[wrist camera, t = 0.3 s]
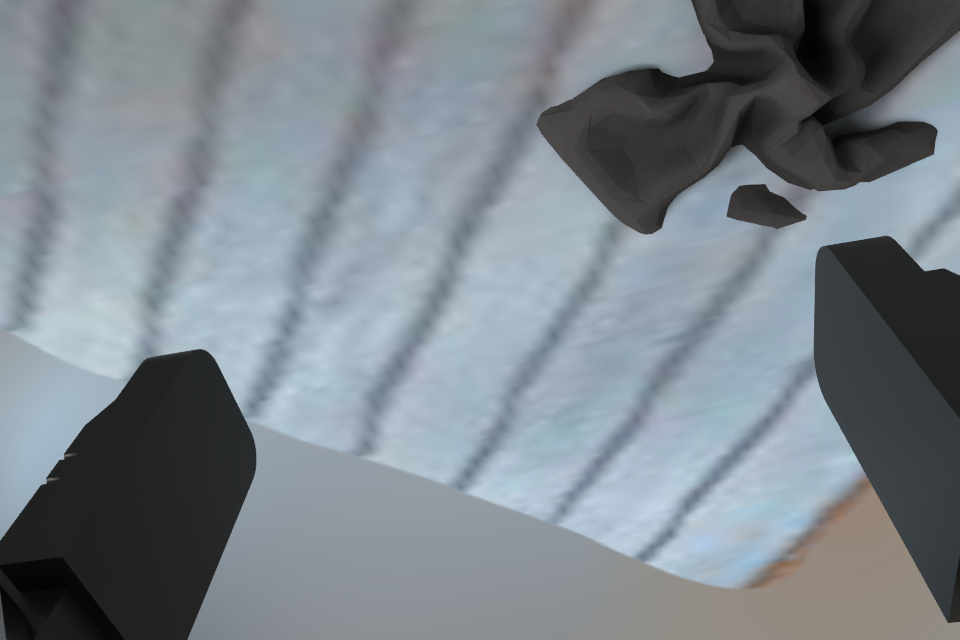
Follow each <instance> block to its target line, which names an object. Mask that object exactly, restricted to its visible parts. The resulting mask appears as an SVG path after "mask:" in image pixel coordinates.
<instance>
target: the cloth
mask: <svg viewBox="0 0 960 640" xmlns="http://www.w3.org/2000/svg"><path fill="white" fill-rule="evenodd" d="M691 1H692V3H693V6H694V9H695V12H696V15H697V19H698V21H699V24H700V26H701V29H702V31H703V34H704V35H705V37H706V40H707V43H708V45H709V46H710V48H711V49H712V54H713V59H714V62H713V64H712V65H711V67H710V68H709V69H708V70H707V71H704V72H700V73H696V74H692V75H688V76H684V77H680V78H678V77H674V76H670V75H668V74H665V73H663V72H661V71H660V70H659V69H646V70H638V71H629V72H626V73H623V74H620V75H617V76H614V77H611V78H605V79H602V80H600V81H599V82H597V83H596V84H594V85H593V86H591V87H590V88H588V89H587V90H586V91H584V92H583V93H581V94H580V95H578V96H577V97H575V98H574V99H572V100H568V101H566V102H564V103H562V104H560V105H558V106H554V107H551V108H549V109H547V110H546V111H544V112H543V113H542V114H541V116H540V117H539V120H538V122H537V124H536V125H537V127H538V128H539V130H540V131H541V134H542V135H543V136H544V137H545V139H546V140H547V141H548V142H549V144H550V145H551V146H552V147H553V148H554V150H555V151H556V152H557V153H558V155H559V156H560V157H561V158H562V159H563V160H564V162H565V163H566V164H567V165H568V166H569V167H570V168H571V169H572V170H573V172H574V173H575V174H576V175H577V176H578V177H579V178H580V179H581V180H582V182H583V183H584V184H585V185H586V186H587V187H588V188H589V189H590V190H591V191H592V192H593V194H594V195H595V196H596V197H597V198H598V199H599V200H600V201H601V202H602V203H603V204H604V205H605V207H606V208H607V209H608V210H609V211H610V212H611V213H612V214H613V215H614V216H615V217H616V218H617V219H619V220H620V221H621V222H622V223H624V224H625V225H627V226H629V227H631V228H632V229H634V230H636V231H638V232H639V233H642V234H653V233H654V232H656V231H658V230H659V229H661V228H662V225H663V221H664V218H665V214H666V211H667V208H668V206H669V205H670V203H671V202H672V201H673V200H674V198H675V197H676V196H677V195H678V194H679V193H680V192H682V191H683V190H685V189H686V188H688V187H689V186H691V185H693V184H694V183H696V182H697V181H699V180H700V179H702V178H704V177H705V176H706V175H707V174H708V173H710V172H711V171H712V170H713V169H714V168H716V167H717V166H718V165H719V163H720V162H721V160H722V159H723V157H724V156H725V154H726V153H727V151H728V150H729V148H730V147H733V146H737V145H741V144H743V145H744V146H745V147H746V148H747V149H749V150H750V151H751V152H752V153H753V154H754V155H756V156H757V158H758V159H759V160H760V161H761V162H762V163H763V164H764V165H765V166H766V168H768V169H769V170H771V171H772V172H773V173H775V174H776V175H778V176H779V177H780V178H782V179H783V180H785V181H786V182H788V183H791V184H794V185H797V186H800V187H803V188H806V189H809V190H811V189H815V190H817V191H827V190H842V189H847V188H849V187H852V186H854V185H856V184H857V183H859V182H871V181H873V180H876V179H878V178H880V177H883V176H885V175H887V174H890V173H892V172H894V171H896V170H899V169H901V168H903V167H906V166H908V165H910V164H912V163H914V162H917V161H919V160H922V159H924V158H926V157H929V156H931V155H933V154H934V148H935V140H936V136H937V132H938V131H937V129H936V128H935V127H934V126H932V125H930V124H928V123H925V122H897V123H895V124H892V125H889V126H887V127H884V128H881V129H879V130H876V131H874V132H867V133H858V134H848V135H844V136H841V137H839V138H836V139H834V140H831V139H830V137H829V136H828V134H827V133H826V132H825V130H824V129H823V126H822V125H825V124H827V123H830V122H832V121H834V120H837V119H839V118H841V117H844V116H846V115H849V114H851V113H853V112H856V111H858V110H861V109H863V108H865V107H868V106H869V105H871V104H872V103H874V102H875V101H877V100H878V99H879V98H881V97H882V96H884V95H885V94H887V93H888V92H890V91H891V90H892V89H893V88H894V87H895V86H896V85H898V84H899V83H900V82H901V81H902V80H903V79H904V78H905V77H906V76H907V75H908V74H909V73H910V72H911V71H912V70H913V69H914V68H915V67H916V66H917V65H918V64H919V63H921V62H922V61H923V60H924V59H926V58H927V57H928V56H929V55H930V54H932V53H933V52H934V51H935V50H937V49H938V48H939V47H940V46H941V45H943V44H944V43H945V42H946V41H947V40H949V39H950V38H951V37H952V36H954V35H955V34H956V33H957V32H958V31H960V0H691ZM727 217H730V218H733V219H736V220H740V221H745V222H750V223H755V224H759V225H763V226H770V227H774V228H776V229H778V228H781V227H784V226H788V225H791V224H794V223H797V222H800V221H803V220H806V217H807V216H806V215H804V214H802V213H801V212H800V211H798V210H797V209H796V208H795V207H793V206H792V205H791V204H790V203H789V202H788V201H787V200H786V199H785V198H784V197H781V196H779V195H776V194H774V193H772V192H770V191H769V190H768V188H767V186H766V185H765V184H760V185H743V186H739V187H738V188H737V189H736V190H735V191H734V192H733V193H732V195H731V198H730V203H729V207H728V212H727Z"/></svg>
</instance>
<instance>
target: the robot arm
mask: <svg viewBox="0 0 960 640" xmlns="http://www.w3.org/2000/svg"><path fill="white" fill-rule="evenodd" d="M814 361H815V368H816V374H817V378H818V382H819V386H820V389H821V392H822V394H823V397H824V399H825V401H826V403H827V405H828V406H829V408H830V410H831V412H832V414H833V415H834V417H835V419H836V421H837V423H838V425H839V426H840V428H841V430H842V432H843V434H844V435H845V437H846V439H847V441H848V443H849V444H850V446H851V448H852V450H853V452H854V453H855V455H856V457H857V459H858V461H859V463H860V464H861V466H862V468H863V470H864V472H865V473H866V475H867V477H868V479H869V481H870V482H871V484H872V486H873V488H874V490H875V491H876V493H877V495H878V497H879V499H880V501H881V502H882V504H883V506H884V508H885V510H886V511H887V513H888V515H889V517H890V519H891V520H892V522H893V524H894V526H895V528H896V529H897V531H898V533H899V535H900V537H901V539H902V540H903V542H904V544H905V546H906V548H907V549H908V551H909V553H910V555H911V556H912V558H913V560H914V562H915V564H916V566H917V567H918V569H919V571H920V573H921V575H922V577H923V578H924V580H925V582H926V584H927V586H928V587H929V589H930V591H931V593H932V595H933V596H934V598H935V600H936V602H937V604H938V605H939V607H940V609H941V611H942V613H943V614H944V616H945V618H946V620H947V622H948V623H951V622H960V275H957V274H955V273H953V272H951V271H949V270H946V269H944V268H943V269H937V270H931V271H924V270H923V269H922V268H921V267H920V266H919V265H918V264H917V263H916V262H915V261H914V260H913V259H912V258H911V257H910V256H909V255H908V254H907V252H906V251H905V250H904V249H903V248H902V247H901V246H900V245H899V244H898V243H897V242H896V241H895V240H894V239H893V238H891V237H889V236H882V237H876V238H870V239H864V240H858V241H852V242H846V243H840V244H834V245H828V246H823V247H821V248H820V249H819V251H818V253H817V257H816V266H815V314H814ZM64 457H65V458H64V460H59V462H58V463H57V464H56V466H55V467H54V468H53V470H52V471H51V473H50V474H49V475H48V477H47V478H46V480H47V484H43V485H41V486H40V487H39V489H38V490H37V492H36V493H35V494H34V496H33V497H32V499H31V500H30V501H29V502H28V504H27V505H26V507H25V508H24V509H23V511H22V512H21V513H20V515H19V516H18V517H17V519H16V520H15V521H14V523H13V524H12V526H11V527H10V528H9V530H8V531H7V532H6V534H5V535H4V537H3V538H2V539H1V540H0V640H187V639H188V636H189V634H190V632H191V629H192V627H193V624H194V622H195V620H196V617H197V614H198V612H199V610H200V607H201V605H202V603H203V600H204V598H205V595H206V593H207V590H208V588H209V585H210V583H211V580H212V578H213V575H214V573H215V571H216V568H217V566H218V564H219V561H220V559H221V556H222V554H223V551H224V549H225V546H226V544H227V541H228V539H229V536H230V534H231V532H232V529H233V527H234V524H235V522H236V520H237V517H238V515H239V512H240V510H241V507H242V505H243V502H244V500H245V498H246V495H247V492H248V490H249V488H250V485H251V483H252V481H253V478H254V475H255V470H256V449H255V443H254V439H253V436H252V433H251V431H250V429H249V427H248V425H247V423H246V421H245V419H244V417H243V415H242V413H241V411H240V409H239V407H238V405H237V403H236V401H235V399H234V397H233V395H232V393H231V391H230V388H229V386H228V384H227V382H226V380H225V378H224V376H223V374H222V372H221V370H220V368H219V366H218V364H217V363H216V361H215V359H214V358H213V357H212V355H211V354H210V353H208V352H207V351H205V350H202V349H197V350H191V351H185V352H179V353H173V354H167V355H161V356H156V357H150V358H147V359H146V360H144V361H143V362H142V364H141V365H140V366H139V368H138V369H137V370H136V372H135V373H134V375H133V376H132V377H131V379H130V380H129V382H128V383H127V384H126V386H125V387H124V389H123V390H122V391H121V393H120V394H119V396H118V397H117V399H116V400H115V401H113V402H112V403H111V404H110V405H109V406H108V407H106V408H105V409H104V410H103V411H102V412H100V413H99V414H98V415H97V416H96V417H94V418H93V419H92V420H91V421H90V422H89V423H87V424H86V425H85V426H84V428H83V429H82V430H81V432H80V433H79V434H78V436H77V437H76V439H75V440H74V441H73V443H72V444H71V445H70V447H69V448H68V449H67V451H66V452H65V453H64Z"/></svg>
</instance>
